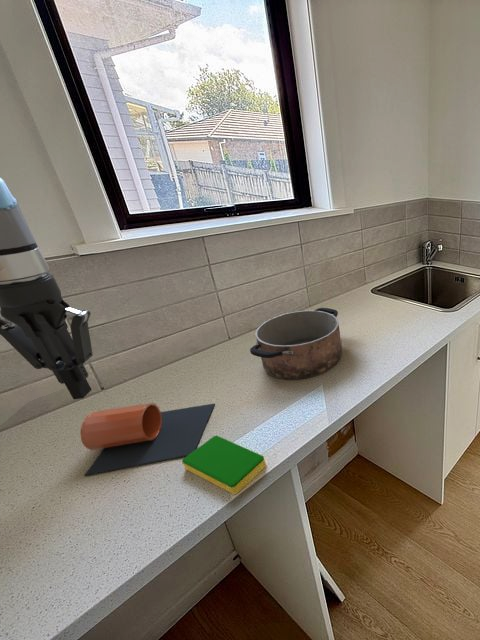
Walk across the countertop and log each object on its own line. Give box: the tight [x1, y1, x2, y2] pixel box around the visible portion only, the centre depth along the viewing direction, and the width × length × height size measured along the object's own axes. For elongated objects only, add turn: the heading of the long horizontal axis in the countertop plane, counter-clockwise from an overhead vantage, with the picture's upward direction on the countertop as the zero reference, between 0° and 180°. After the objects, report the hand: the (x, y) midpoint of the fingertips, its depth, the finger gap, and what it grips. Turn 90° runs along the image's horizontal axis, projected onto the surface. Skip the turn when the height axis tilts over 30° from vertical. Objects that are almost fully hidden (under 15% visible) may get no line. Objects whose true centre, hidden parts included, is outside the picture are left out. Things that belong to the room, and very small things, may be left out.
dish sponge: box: [181, 435, 267, 495], centre depth 64 cm, size 7×14×2 cm, turn 66°
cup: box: [80, 402, 162, 451], centre depth 69 cm, size 8×8×10 cm
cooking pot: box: [249, 307, 343, 381], centre depth 98 cm, size 30×22×11 cm
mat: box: [84, 403, 216, 477], centre depth 72 cm, size 18×16×1 cm
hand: (82, 394), depth 64 cm, fingers closed
